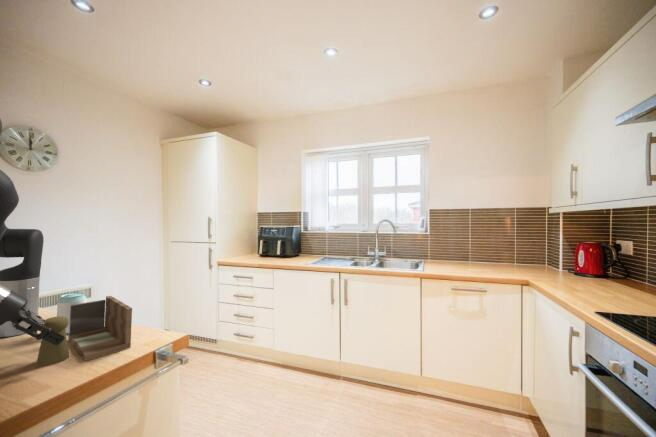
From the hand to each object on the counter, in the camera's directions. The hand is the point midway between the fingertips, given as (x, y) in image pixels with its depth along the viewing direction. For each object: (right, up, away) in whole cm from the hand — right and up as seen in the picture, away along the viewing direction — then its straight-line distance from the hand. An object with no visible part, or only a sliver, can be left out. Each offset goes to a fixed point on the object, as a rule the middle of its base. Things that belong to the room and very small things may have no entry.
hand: (58, 336), depth 72 cm
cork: (-1, -6, -1) cm, 6 cm away
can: (-13, -6, +18) cm, 23 cm away
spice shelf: (+3, -6, +9) cm, 11 cm away
